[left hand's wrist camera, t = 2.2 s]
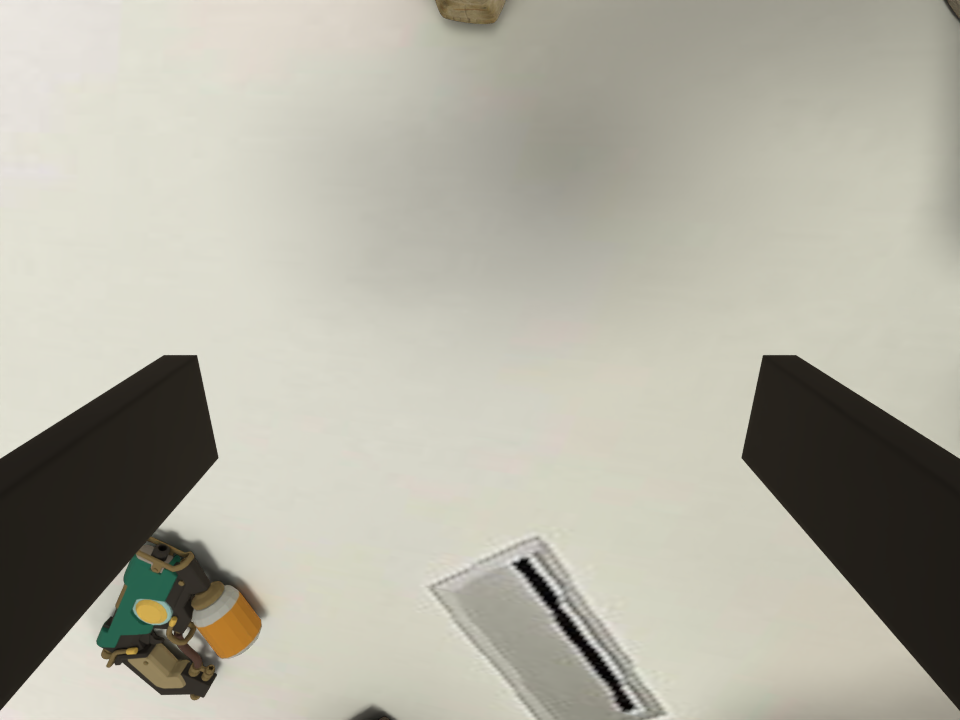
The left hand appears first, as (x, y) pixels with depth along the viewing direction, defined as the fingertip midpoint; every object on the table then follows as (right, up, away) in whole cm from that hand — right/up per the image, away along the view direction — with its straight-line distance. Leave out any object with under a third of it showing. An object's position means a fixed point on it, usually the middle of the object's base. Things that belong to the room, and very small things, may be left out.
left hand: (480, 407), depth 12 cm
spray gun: (-29, -23, +38) cm, 53 cm away
